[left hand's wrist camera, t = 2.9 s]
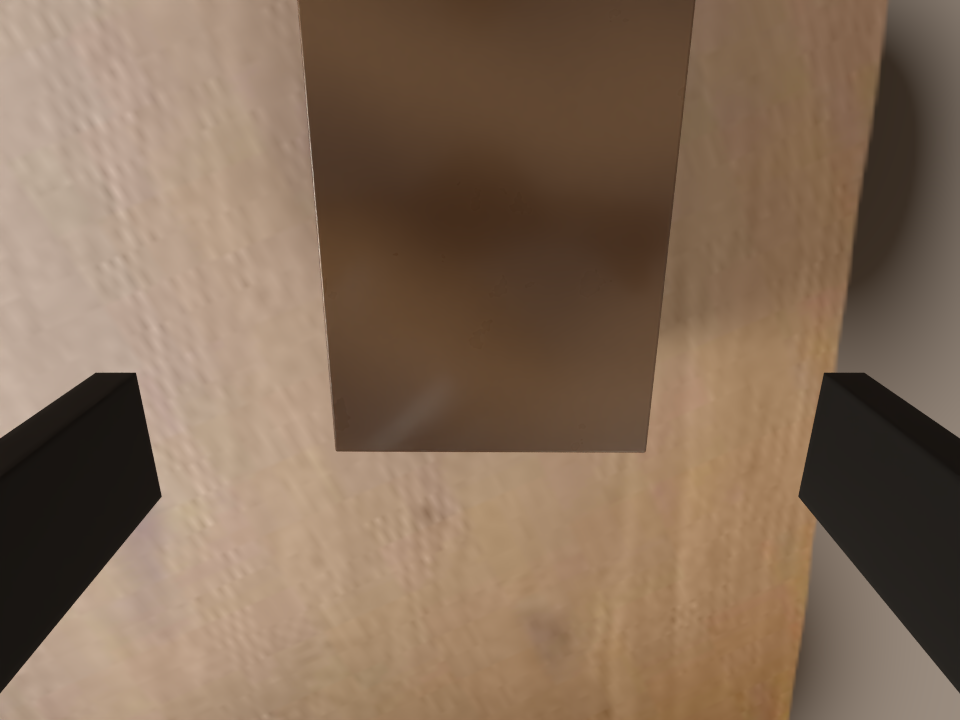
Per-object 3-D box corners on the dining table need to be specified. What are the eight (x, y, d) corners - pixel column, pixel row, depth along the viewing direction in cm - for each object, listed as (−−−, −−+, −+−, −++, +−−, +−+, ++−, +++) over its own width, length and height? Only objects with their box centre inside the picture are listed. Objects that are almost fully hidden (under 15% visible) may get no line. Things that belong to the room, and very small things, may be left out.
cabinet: (355, -52, 25) (284, -146, 16) (626, -50, 25) (712, -143, 16) (377, 350, 30) (335, 452, 21) (596, 351, 30) (646, 453, 21)
